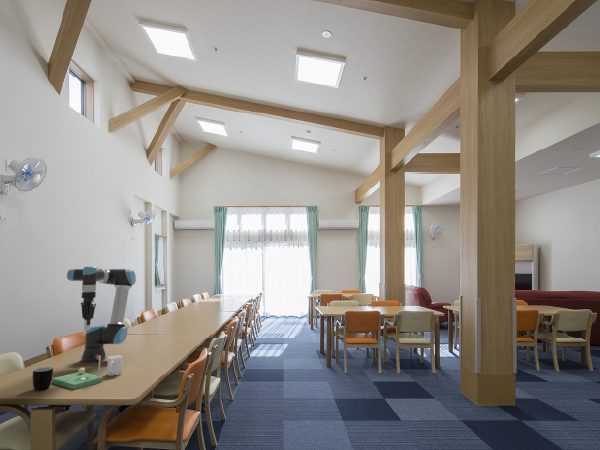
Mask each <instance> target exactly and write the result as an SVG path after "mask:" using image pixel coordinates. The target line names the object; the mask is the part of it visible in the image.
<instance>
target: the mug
mask: <svg viewBox="0 0 600 450" xmlns="http://www.w3.org/2000/svg"><path fill="white" fill-rule="evenodd" d="M53 372H54V368H53V367H51V366H45V367H38V368H35V369H33V370H32V388H33V390H35V391H38V392H39V391H46V390H48V389H49V388H50V387H51V384H52V378H53V374H54V373H53Z"/></svg>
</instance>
